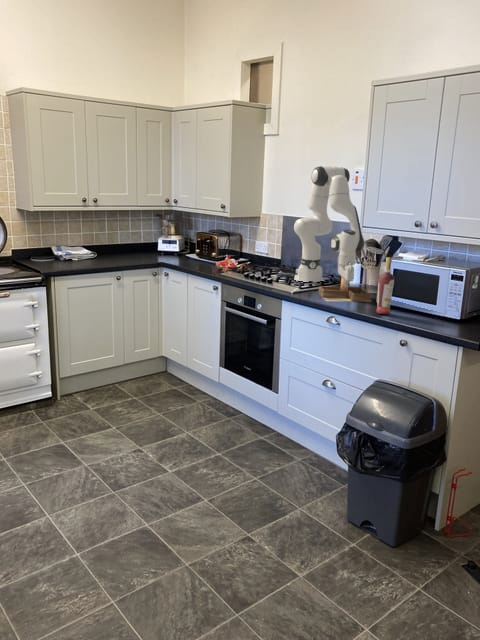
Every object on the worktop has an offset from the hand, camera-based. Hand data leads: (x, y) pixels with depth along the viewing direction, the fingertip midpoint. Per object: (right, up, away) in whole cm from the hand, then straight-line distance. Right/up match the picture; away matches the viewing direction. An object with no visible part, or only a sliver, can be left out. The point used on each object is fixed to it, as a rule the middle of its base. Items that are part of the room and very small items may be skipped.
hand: (344, 285), depth 293 cm
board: (0, -7, -1) cm, 8 cm away
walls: (-1, -6, -2) cm, 7 cm away
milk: (+19, -10, -7) cm, 22 cm away
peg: (0, -4, +1) cm, 4 cm away
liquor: (+13, -16, -28) cm, 35 cm away
